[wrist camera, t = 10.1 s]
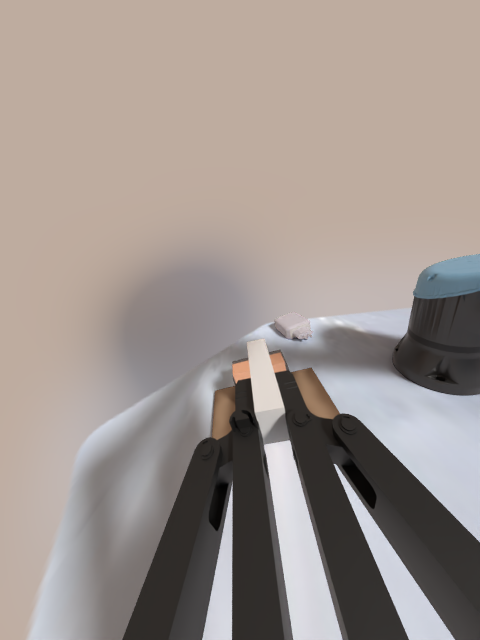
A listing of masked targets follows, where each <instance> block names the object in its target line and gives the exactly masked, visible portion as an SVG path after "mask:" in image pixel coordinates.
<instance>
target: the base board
mask: <svg viewBox="0 0 480 640" xmlns="http://www.w3.org/2000/svg"><path fill="white" fill-rule="evenodd" d="M291 373H292V374H293V375H294V378H295V380H296V382H297V385H298V387H299V390H300V392H301V394H302V397H303V399H304V401H305V404H306V406H307V408H308V410H309V411H310V412H311V413H313V414H314V415H316V416H318V417H322V418H328V419H333V418H334V417H335V416H336V415H338V414H340V413H339V411H338V410H337V408H336V406H335V405H334V403H333V402H332V400H331V398H330V397H329V395H328V394H327V392H326V390H325V389H324V387H323V386H322V384H321V382H320V381H319V379H318V377H317V376H316V374H315V373H314V371H313V369H312V368H308V369H303V370H299V371H295V372H291ZM234 411H235V386H233V387H229V388H225V389H220V390H216V391H215V402H214V416H213V429H212V438H215V439H216V440H218V439H220V438H222V437H223V436H225V435H227V434H228V433H229V432H230V431H231V430H232V428H231V426H230V423H229V419H230V416H231V415H232V413H233V412H234Z"/></svg>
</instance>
